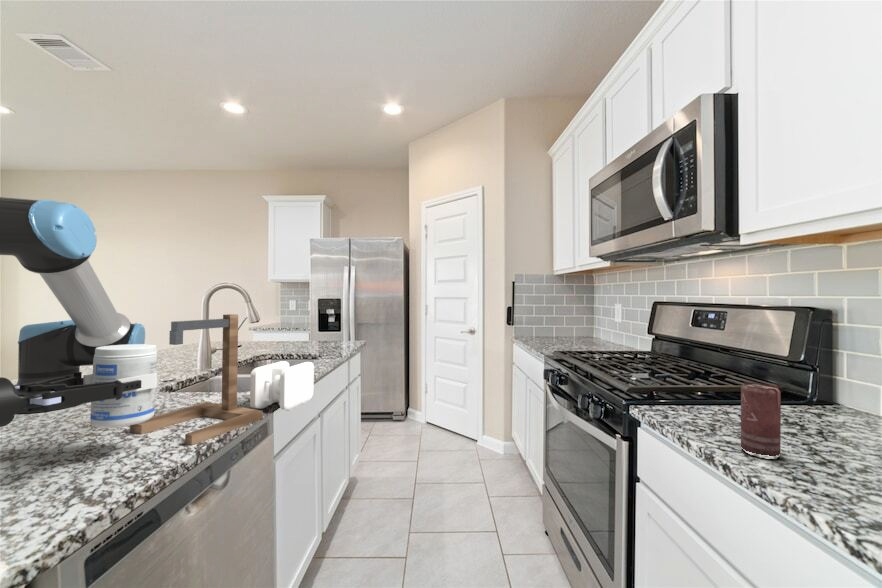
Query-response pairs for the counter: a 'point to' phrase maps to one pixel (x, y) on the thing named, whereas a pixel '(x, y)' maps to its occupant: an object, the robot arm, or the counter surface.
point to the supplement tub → (121, 365)
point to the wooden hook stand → (226, 410)
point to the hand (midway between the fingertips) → (139, 378)
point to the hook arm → (193, 328)
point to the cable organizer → (281, 385)
